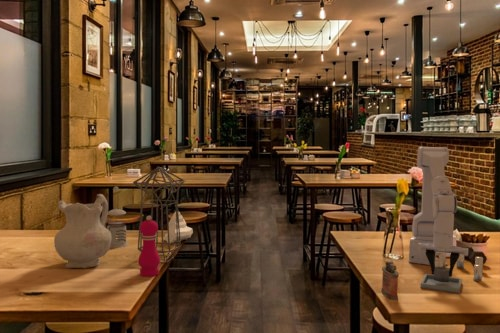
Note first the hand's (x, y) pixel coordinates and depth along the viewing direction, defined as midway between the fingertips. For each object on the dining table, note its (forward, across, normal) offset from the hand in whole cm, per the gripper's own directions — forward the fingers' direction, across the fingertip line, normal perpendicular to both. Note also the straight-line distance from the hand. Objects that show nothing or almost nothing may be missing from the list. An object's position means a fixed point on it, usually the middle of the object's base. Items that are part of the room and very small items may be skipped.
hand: (441, 274), depth 146 cm
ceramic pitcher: (+4, -117, -37) cm, 123 cm away
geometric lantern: (+4, -96, -20) cm, 99 cm away
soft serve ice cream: (+4, -109, +8) cm, 110 cm away
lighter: (+4, -13, -17) cm, 21 cm away
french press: (+4, -127, -12) cm, 128 cm away
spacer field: (+3, +4, +17) cm, 18 cm away
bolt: (+4, +7, +38) cm, 39 cm away
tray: (+3, 0, 0) cm, 3 cm away
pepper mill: (+4, -88, -36) cm, 95 cm away
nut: (+2, 0, 0) cm, 2 cm away
